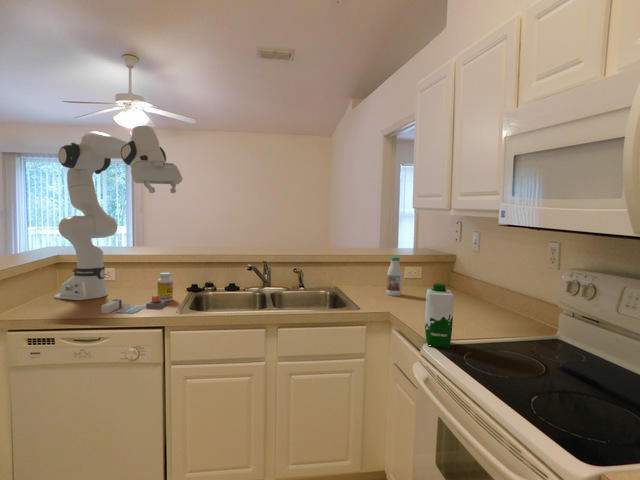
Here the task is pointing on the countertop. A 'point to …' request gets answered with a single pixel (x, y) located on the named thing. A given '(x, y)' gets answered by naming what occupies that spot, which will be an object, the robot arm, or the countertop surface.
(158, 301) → the button
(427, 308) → the milk carton
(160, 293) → the supplement bottle
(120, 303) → the grey rectangular bar
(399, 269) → the milk bottle
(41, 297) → the countertop surface
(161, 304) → the button collar
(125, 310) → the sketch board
